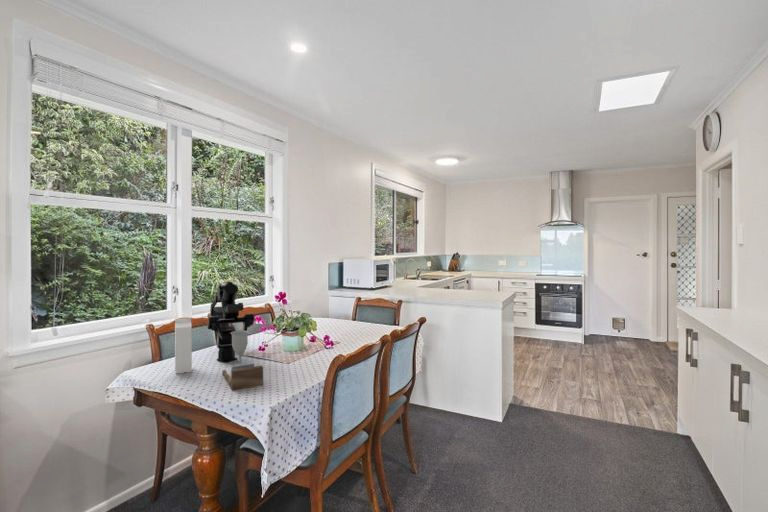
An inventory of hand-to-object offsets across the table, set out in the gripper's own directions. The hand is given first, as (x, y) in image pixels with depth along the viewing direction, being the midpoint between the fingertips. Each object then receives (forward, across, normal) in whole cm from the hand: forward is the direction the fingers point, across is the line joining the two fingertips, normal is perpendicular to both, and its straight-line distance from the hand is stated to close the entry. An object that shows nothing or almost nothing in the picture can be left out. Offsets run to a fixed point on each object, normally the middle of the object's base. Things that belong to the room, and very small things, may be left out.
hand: (234, 337), depth 168 cm
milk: (+4, -18, +16) cm, 25 cm away
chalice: (+18, 0, +2) cm, 18 cm away
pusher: (+21, 0, -2) cm, 21 cm away
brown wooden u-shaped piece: (+19, 0, 0) cm, 19 cm away
